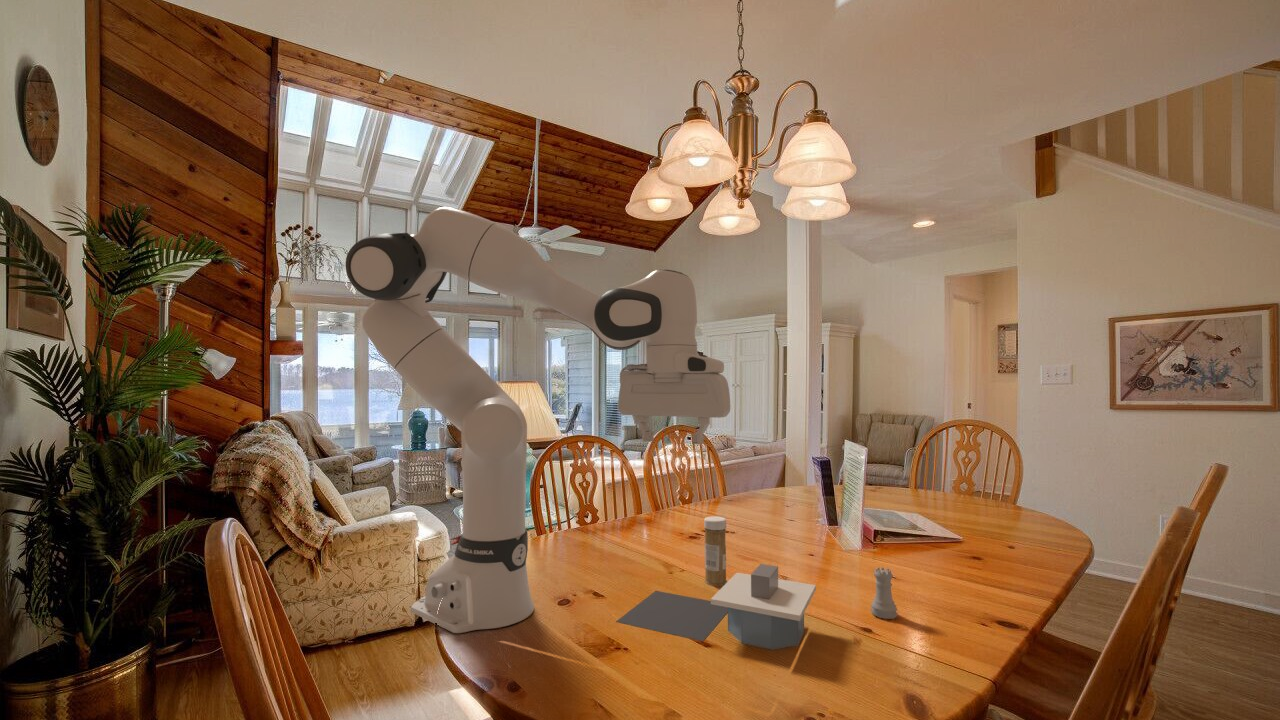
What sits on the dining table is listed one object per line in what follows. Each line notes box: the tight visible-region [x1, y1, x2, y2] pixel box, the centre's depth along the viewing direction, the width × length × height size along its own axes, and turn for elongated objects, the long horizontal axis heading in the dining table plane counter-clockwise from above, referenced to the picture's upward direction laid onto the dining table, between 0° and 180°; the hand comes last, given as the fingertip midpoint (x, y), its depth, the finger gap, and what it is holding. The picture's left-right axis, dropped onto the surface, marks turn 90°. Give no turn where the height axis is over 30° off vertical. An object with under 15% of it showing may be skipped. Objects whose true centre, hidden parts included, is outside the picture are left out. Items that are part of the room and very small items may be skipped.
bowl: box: [727, 607, 805, 651], centre depth 91 cm, size 12×12×6 cm
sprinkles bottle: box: [703, 515, 728, 587], centre depth 114 cm, size 5×5×14 cm
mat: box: [615, 590, 728, 642], centre depth 98 cm, size 16×16×1 cm
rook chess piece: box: [870, 567, 898, 620], centre depth 98 cm, size 4×4×8 cm
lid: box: [710, 563, 817, 621], centre depth 91 cm, size 14×14×4 cm
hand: (672, 442), depth 95 cm, fingers open, 8 cm apart
